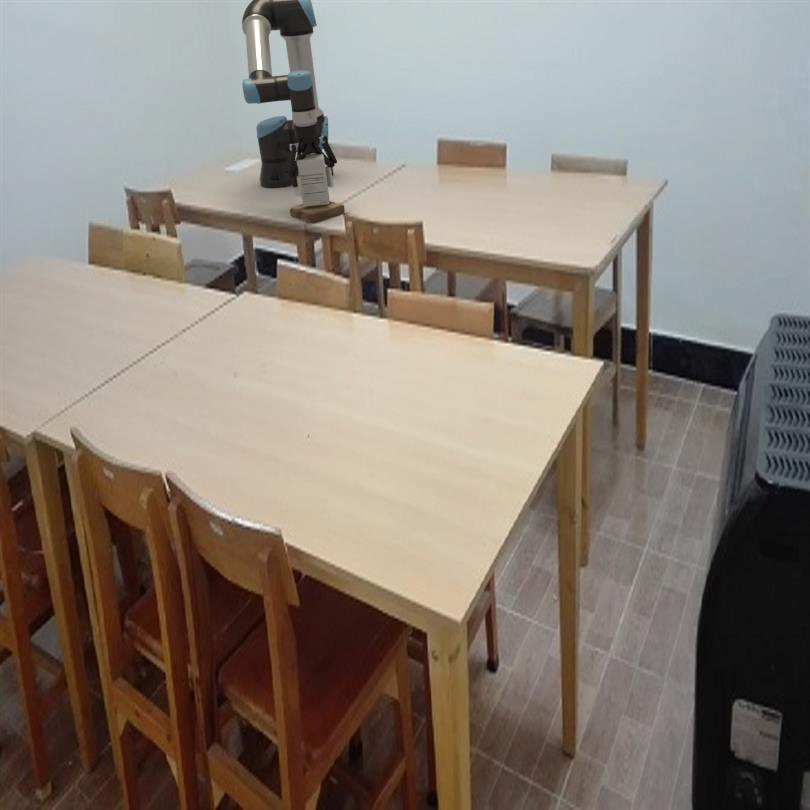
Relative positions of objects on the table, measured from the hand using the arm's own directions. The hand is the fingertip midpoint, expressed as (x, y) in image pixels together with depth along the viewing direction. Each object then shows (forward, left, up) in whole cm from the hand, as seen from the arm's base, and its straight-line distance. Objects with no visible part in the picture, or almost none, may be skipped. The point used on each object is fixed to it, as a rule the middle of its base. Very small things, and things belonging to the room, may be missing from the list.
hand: (314, 191), depth 268 cm
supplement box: (0, 0, -4) cm, 4 cm away
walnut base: (0, 0, -8) cm, 8 cm away
